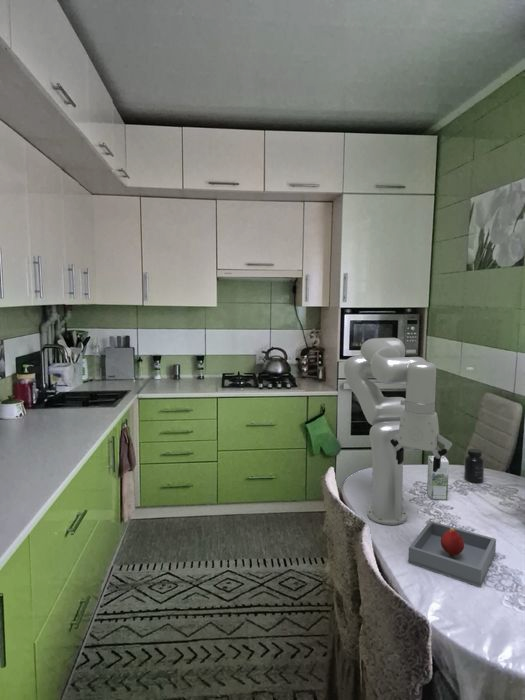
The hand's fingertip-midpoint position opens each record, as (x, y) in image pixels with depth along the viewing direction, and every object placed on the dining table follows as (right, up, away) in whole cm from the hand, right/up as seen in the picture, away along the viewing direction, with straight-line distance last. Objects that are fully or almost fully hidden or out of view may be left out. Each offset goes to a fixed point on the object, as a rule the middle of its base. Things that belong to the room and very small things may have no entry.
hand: (417, 466), depth 127 cm
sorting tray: (+9, -25, -2) cm, 26 cm away
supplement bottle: (+39, -18, +50) cm, 66 cm away
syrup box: (+19, -20, +36) cm, 46 cm away
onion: (+9, -24, -2) cm, 26 cm away
